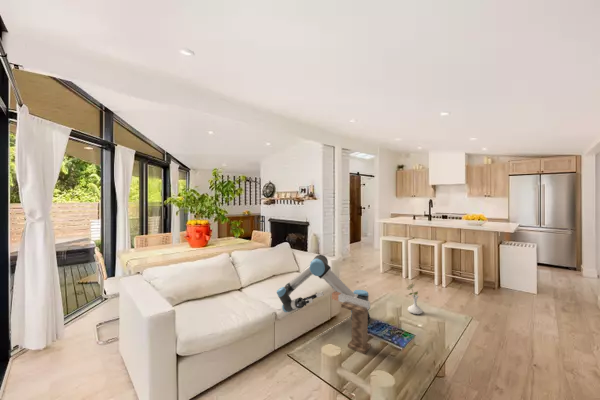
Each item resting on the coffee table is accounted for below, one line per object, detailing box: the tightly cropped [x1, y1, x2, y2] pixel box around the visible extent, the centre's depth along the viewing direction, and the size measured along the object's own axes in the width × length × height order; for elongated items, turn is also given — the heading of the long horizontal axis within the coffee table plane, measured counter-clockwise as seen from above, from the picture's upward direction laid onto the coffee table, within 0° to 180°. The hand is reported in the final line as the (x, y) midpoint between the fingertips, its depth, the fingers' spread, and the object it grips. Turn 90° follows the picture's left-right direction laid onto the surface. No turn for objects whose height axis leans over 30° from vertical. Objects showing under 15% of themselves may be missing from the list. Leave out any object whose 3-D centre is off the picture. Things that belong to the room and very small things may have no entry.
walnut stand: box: [340, 302, 372, 355], centre depth 178 cm, size 17×10×28 cm, turn 52°
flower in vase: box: [406, 282, 423, 315], centre depth 222 cm, size 13×11×25 cm
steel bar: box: [331, 290, 371, 311], centre depth 180 cm, size 26×4×4 cm, turn 52°
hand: (317, 296), depth 196 cm, fingers open, 13 cm apart
